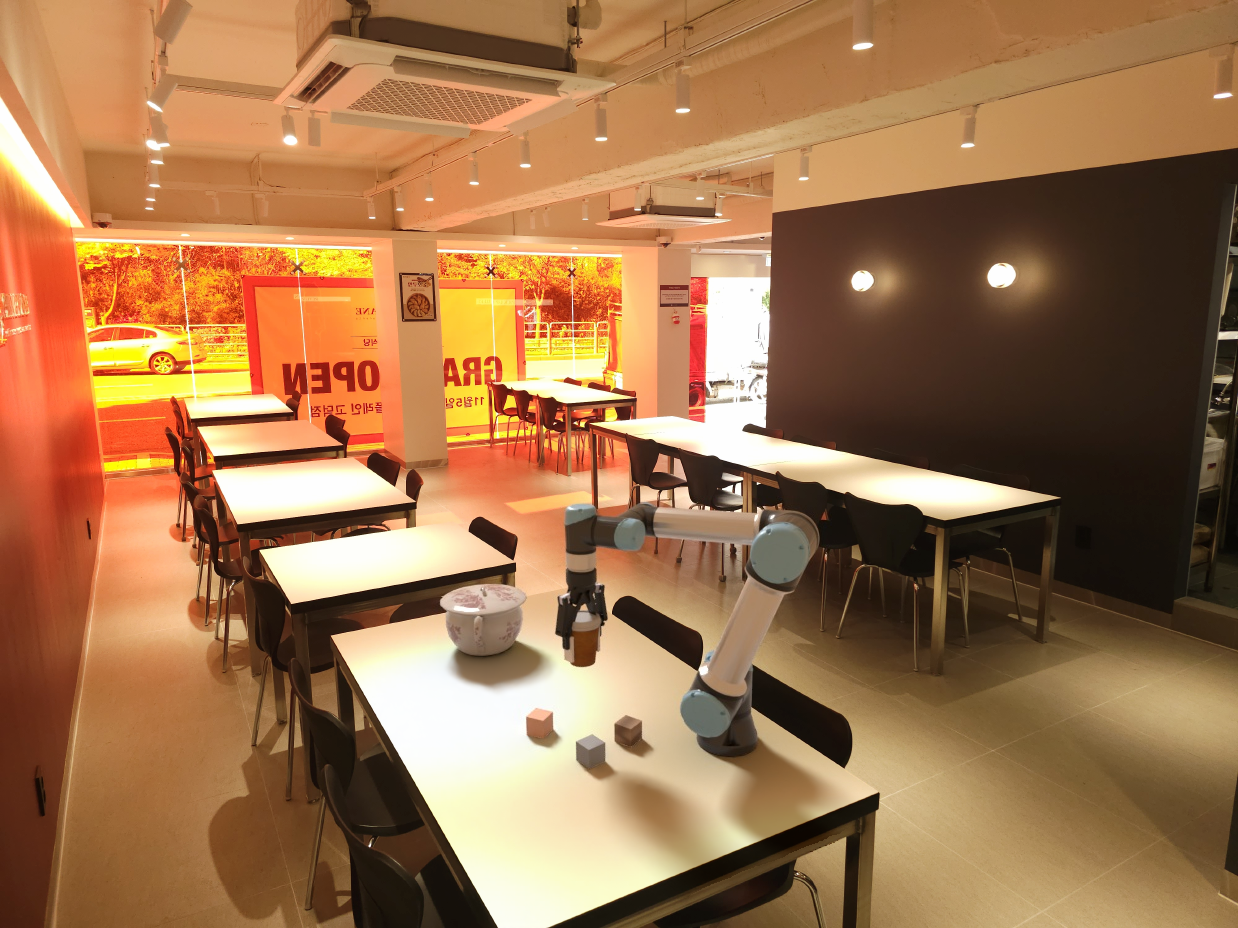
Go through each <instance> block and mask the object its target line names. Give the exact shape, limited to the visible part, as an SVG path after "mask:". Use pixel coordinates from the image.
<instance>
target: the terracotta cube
mask: <svg viewBox="0 0 1238 928" xmlns="http://www.w3.org/2000/svg"><path fill="white" fill-rule="evenodd" d="M525 719H526V721H525V724H526V725H525V726H526V727H525V728H526V735H527V736H531V737H534V738H535V737H536V738H538V739H545V738H546V737H547V736H548V735H549V734H550V733H551V732H552V731H553V730H554V712H553V711H550V710H546V709H543V708H539V707H536V708H534V709H533V710H532V711H530V713H528V715H526V716H525Z"/></svg>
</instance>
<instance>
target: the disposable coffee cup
mask: <svg viewBox="0 0 1238 928" xmlns="http://www.w3.org/2000/svg"><path fill="white" fill-rule="evenodd" d="M600 624H601V619H600V616H599V614H598V613H596V615H594V614H591V613H589V611H588V609H580V610H579V611H578V614H577V617H576V620H575V622H573V626H572V634H571V636H573V637H574V662H573V663H571V662H569V663H570V665H571V666H573V667H576V668H587V667H591V666H593V665H595V663H596V659H597V643H598V634H599V626H600ZM566 632H567V631H566Z"/></svg>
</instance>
